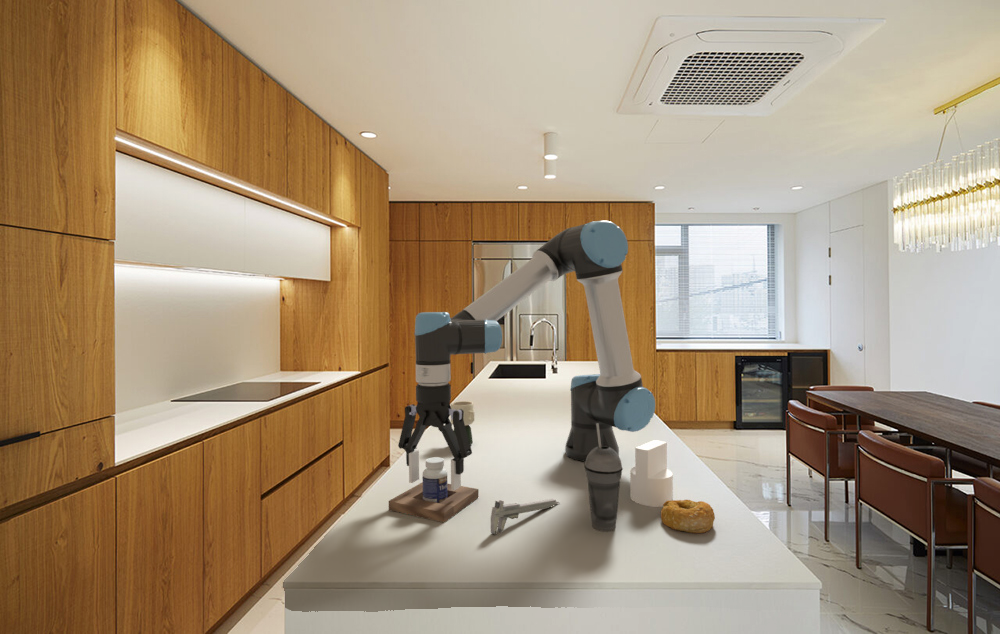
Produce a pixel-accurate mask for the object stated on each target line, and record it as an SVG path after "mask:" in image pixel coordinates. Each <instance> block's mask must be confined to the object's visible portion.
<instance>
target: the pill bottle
mask: <svg viewBox="0 0 1000 634" xmlns="http://www.w3.org/2000/svg"><path fill="white" fill-rule="evenodd" d="M444 466H445V459H444V458H443V457H439V456H434V457H429V458H426V459H425V469H424V470H423V471H422V482H423V500H425V501H430V502H435V503H441V502H442V501H444V500H445V499H447V484H448V471H447V469H446V468H445V467H444Z"/></svg>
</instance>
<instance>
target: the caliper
mask: <svg viewBox="0 0 1000 634" xmlns="http://www.w3.org/2000/svg"><path fill="white" fill-rule="evenodd" d="M504 503H505V502H504V500H499V501H497V500H495V501H494V506H493V507H491V508H492V509H491V515H490V533H491V534H492V535H497V532H498V533H503V532H504V529H505V525H506V523H507V520H508V519H511V520H514V519H518V518H519V515H521V514H524V513H525V514H526V513H529V512H535V511H539V510H547V509H550V508H549V507H551V506H553V505H555V504H556V505H558V504H557V503H559V504H560V502H559V501H557V500H556V499H554V498H550V499H545V500H543V499H542V500H538V501H532V502H528V503H508V504H504ZM556 505H555V506H556ZM553 507H554V506H553ZM551 508H552V507H551Z"/></svg>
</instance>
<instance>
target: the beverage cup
mask: <svg viewBox="0 0 1000 634" xmlns="http://www.w3.org/2000/svg"><path fill="white" fill-rule="evenodd" d="M596 426H597V435H598V444H599V446H598V447H595V448H594V449H592V450H591V451H590V453H589V454H588V456H587V458H586V461H584V463H585V464H584V469H585V475H586V479H587V490H588V499H589V511H590V519H591V526H592V528H593V529H594V530H597V531H600V532H610V531H614V530H615V529H616V527H617V526H616V524H617V519H618V507H619V506H618V505H619V495H620V485H621V484H620V482H621V478H622V473H623V469H624V468H623V464H622V460H621V458H620V455H619V456H618V454H617V453H616V451H614V450H613V449H612V448H610V447H607V446H601V439H600V431H599V423H596Z"/></svg>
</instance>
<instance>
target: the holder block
mask: <svg viewBox="0 0 1000 634" xmlns="http://www.w3.org/2000/svg"><path fill="white" fill-rule="evenodd" d="M478 497H479V488H474V487H468V486H464V485H461V487H459V488H458V489H456V490H455V491H453V490H451V483H447V499H445V500H444V501H442V502H441V503H435V502H430V501H425V500H423V481H422V482H420V483H418V484H417V485H415V486H413V487H411V488H410V489H408V490H405V491H404V492H402V493H401V494H399V495H396V496H395V497H393V498H392V499H389V500H388V511H390V510H392V511H391V512H394V511H396V512H395V513H399V512H401V513H400V514H403V513H406V514H405V515H408V514H410V515H409V516H412V515H414V516H413V517H417V516H418V517H417V518H421V517H423V518H422V519H426V520H430V519H431V520H430V521H435V520H436V521H435V522H439V521H441V522H440V523H444V522H445V523H446V522H447V521H449V520H450V519H452V518H453V517H454V516H455V514H456V513H457V514H458V513H460V512H462V509H463V508H464V509H465V508H467V507H468V506H469V505H471V504H472V503H474V502H475V501H476V500H478V499H479V498H478ZM477 498H478V499H477ZM474 500H475V501H474ZM473 501H474V502H473ZM471 502H472V503H471ZM470 503H471V504H470ZM468 504H469V505H468ZM467 505H468V506H467ZM466 506H467V507H466ZM464 509H463V510H464ZM459 511H460V512H459ZM457 514H456V515H457ZM452 516H453V517H452ZM451 517H452V518H451ZM448 519H449V520H448Z"/></svg>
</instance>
